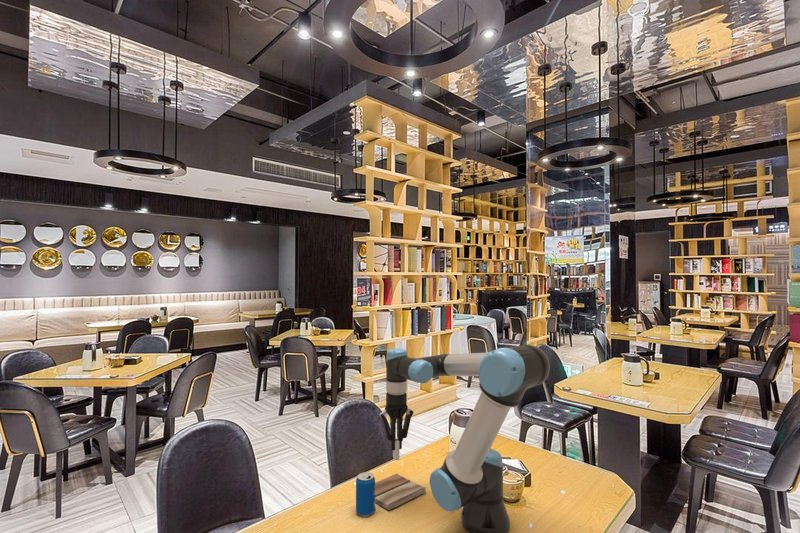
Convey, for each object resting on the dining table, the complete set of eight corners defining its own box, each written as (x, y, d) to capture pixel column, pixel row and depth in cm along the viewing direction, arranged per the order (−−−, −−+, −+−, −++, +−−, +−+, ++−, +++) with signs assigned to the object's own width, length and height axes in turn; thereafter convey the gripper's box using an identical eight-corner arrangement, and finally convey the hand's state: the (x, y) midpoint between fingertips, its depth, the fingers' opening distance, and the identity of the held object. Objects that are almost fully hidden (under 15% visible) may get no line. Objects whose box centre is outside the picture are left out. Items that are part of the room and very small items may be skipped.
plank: (426, 492, 145) (425, 487, 145) (388, 510, 133) (388, 505, 133) (411, 485, 150) (411, 480, 151) (374, 502, 139) (374, 497, 139)
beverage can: (372, 518, 129) (372, 481, 129) (353, 516, 130) (353, 479, 131) (377, 508, 135) (377, 472, 136) (359, 506, 136) (359, 470, 137)
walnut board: (410, 485, 151) (410, 480, 151) (373, 501, 139) (373, 497, 139) (396, 477, 157) (396, 473, 157) (360, 493, 145) (360, 488, 145)
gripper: (409, 388, 148) (408, 451, 146) (376, 391, 143) (375, 457, 142) (417, 393, 141) (416, 460, 139) (382, 396, 136) (382, 465, 135)
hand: (396, 458), depth 141 cm, fingers closed
